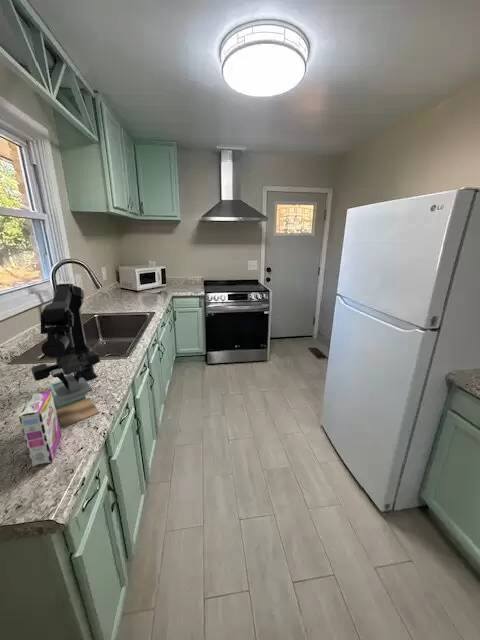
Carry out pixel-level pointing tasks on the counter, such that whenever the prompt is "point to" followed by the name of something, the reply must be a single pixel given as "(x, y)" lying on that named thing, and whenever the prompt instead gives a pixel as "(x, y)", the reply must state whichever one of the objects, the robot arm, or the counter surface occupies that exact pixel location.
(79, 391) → the lid
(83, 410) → the walnut board
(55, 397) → the storage box
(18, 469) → the counter surface
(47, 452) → the candy bar box
